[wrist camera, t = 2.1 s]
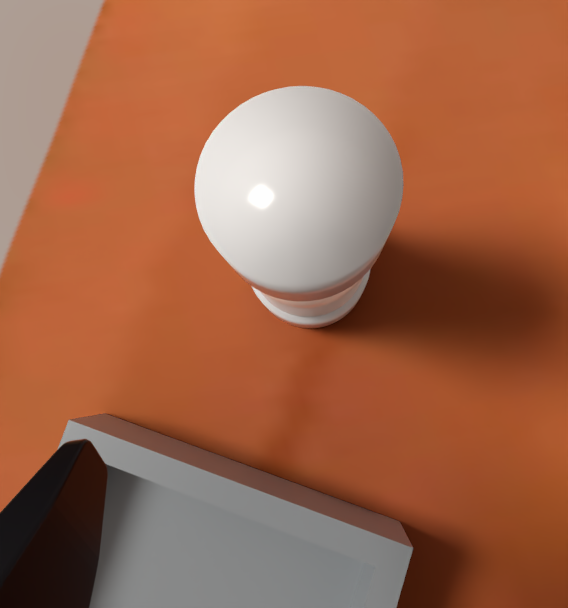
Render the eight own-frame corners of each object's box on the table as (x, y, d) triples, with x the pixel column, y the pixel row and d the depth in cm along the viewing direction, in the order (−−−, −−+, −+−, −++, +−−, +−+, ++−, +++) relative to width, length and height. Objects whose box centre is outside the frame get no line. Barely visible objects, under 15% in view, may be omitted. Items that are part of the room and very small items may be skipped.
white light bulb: (379, 238, 21) (428, 114, 11) (346, 343, 20) (367, 313, 10) (275, 207, 21) (233, 65, 12) (240, 308, 21) (165, 249, 11)
